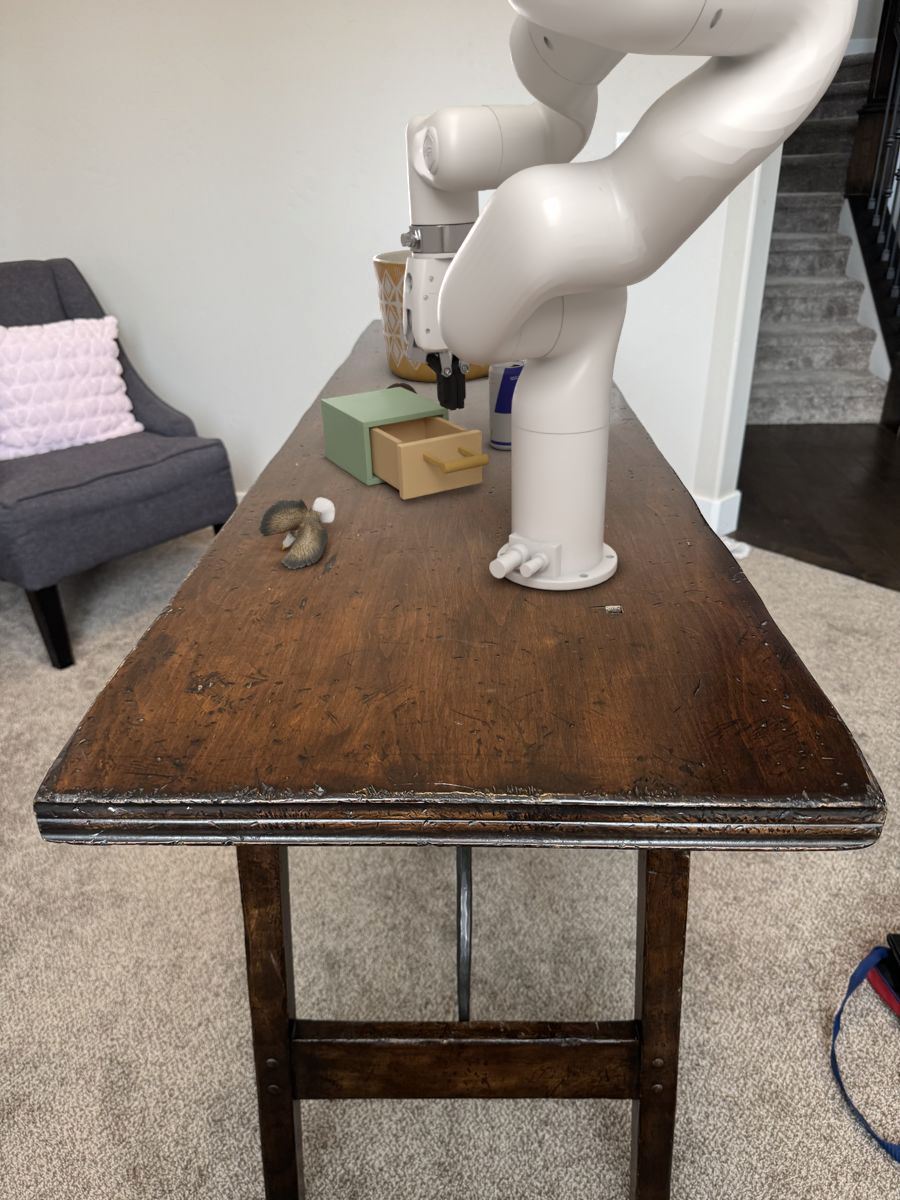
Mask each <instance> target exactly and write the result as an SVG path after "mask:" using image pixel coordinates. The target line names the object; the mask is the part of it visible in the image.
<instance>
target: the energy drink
mask: <svg viewBox="0 0 900 1200" xmlns="http://www.w3.org/2000/svg"><path fill="white" fill-rule="evenodd" d="M525 363H526V362H524V361H523V360H519V361H513V362H507V363H501V364H494V365H490V368H489V375H488V411H489V412H488V415H489V416H488V417H489V421H488V425H489V445H490V447H492V448H494V449H496V450H502V451H511V422H512V421H511V410H512V399H513V393H514V390H515V386H516V383H517V381H518V378H519V376H520V373H521V371H522V369H523V367H524V365H525Z"/></svg>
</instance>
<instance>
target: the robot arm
mask: <svg viewBox="0 0 900 1200" xmlns="http://www.w3.org/2000/svg"><path fill="white" fill-rule="evenodd" d="M507 1H508V3H509V5H510V6H511V7H512V8H513V10H514V11H515V12H516V13H517V16H516V17H515V19H514V21H513V23H512V26H511V30H510V34H509V40H508V50H509V51H508V52H509V56H510V57H509V58H510V61H511V66H512V67H513V68H512V69H513V70H514V72H515V75H516V76H517V78H518V80H519V81H520V83H521V84H522V86H523V87H524V88H525V89H526V91H527V92H528V93H529V94H530V95H531V96H532V97H533V98H534V99H535V100H536V101H534V102H532V103H531V104H530V103H529V104H482V105H481V104H480V105H454V106H446V107H443V108H440V109H438V110H436V111H435V112H433V113H424V114H418V115H415V116H413V117H411V118H410V119H409V120H408V122H407V123H406V127H405V152H406V153H405V155H406V172H407V188H408V189H407V190H408V207H409V209H408V210H409V222H410V223H409V224H410V225H408V231H407V232H405V233H403V232H402V233H401V234H400V238H399V239H400V244H401V246H402V247H403V248H406V247H407V248H409V250H410V251H412V256H411V257H407V263H406V269H405V278H404V290H403V327H404V337H405V342H406V344H407V345H408V348H407V354H406V358H407V359H408V360H409V361H412V362H417V363H424V364H426V365H428V366H429V367H430V368H431V369H432V371H433V372H434V373H436V378H437V382H436V397H437V401H438V403H439V404H440V406H441V407H444V408H446V409H448V411H451V412H452V411H456V410H457V409H458V410H462V409H465V400H466V397H467V387H466V380H465V374H467V373H468V372H469V369H470V365H471V364H474V365H494V364H501V363H507V362H513V361H525V360H526V361H525V362H524V363H525V365H524V367H523V369H522V371H521V373H520V376H519V378H518V381H517V383H516V386H515V390H514V393H513V399H512V410H511V421H512V422H511V450H510V451H511V454H510V455H511V459H510V460H511V462H510V463H511V534H509V535H508V542H507V543H505V544H504V545H503V546H502V547H500V548H499V549H498V552H496V558H495V559H493V560H491V561H490V563H489V564H488V565H489V566H488V567H489V571H490V573H491V575H492V576H493V577H494V578H497V579H503V578H506V579H507V580H509V581H511V582H513V583H516V584H518V585H520V586H524V587H528V588H532V589H536V590H537V589H538V590H543V591H545V590H546V591H572V590H580V589H586V588H591V587H593V586H596V585H599V584H601V583H603V582H605V581H607V580H608V579H610V578H611V577H612V576H614V574H615V573H616V572H617V568H618V554H617V553H616V551H615V550H614V549H613V548H612V547H611V546H609V544H608V543H605V542H604V539H605V538H604V537H605V518H606V517H605V515H606V497H607V476H608V460H609V459H608V458H609V435H610V422H611V406H612V405H611V403H612V388H613V379H614V369H615V363H616V358H617V352H618V347H619V343H620V339H621V335H622V331H623V327H624V323H625V318H626V313H627V306H628V287H629V286H633V285H636V284H639V283H641V282H643V281H645V280H647V279H648V278H650V277H651V276H652V275H653V274H655V273H656V272H657V271H658V270H660V268H661V267H662V266H663V265H664V264H665V263H666V262H667V261H668V260H669V259H670V258H671V257H672V256H673V255H674V254H675V253H676V252H677V251H678V250H679V249H680V248H681V247H682V245H684V244H685V242H686V241H688V239H690V238H691V236H692V235H693V234H694V233H695V232H696V231H697V230H698V229H699V228H700V227H701V226H702V225H703V224H704V223H705V222H706V221H707V219H709V218H710V217H711V215H713V213H715V211H716V210H717V209H718V208H719V207H720V206H721V204H722V203H723V202H724V201H725V199H727V197H729V195H730V194H731V193H732V192H733V191H734V190H735V189H736V188H737V187H738V186H739V185H741V183H742V182H743V181H745V179H746V178H748V176H749V175H751V173H753V172H754V171H755V170H756V169H757V168H758V167H759V166H760V165H761V164H762V163H763V162H764V161H766V159H767V158H768V157H770V156H771V155H772V154H773V153H774V152H775V151H777V149H778V148H779V147H780V146H781V145H782V144H783V143H784V142H785V141H786V140H787V139H788V138H789V137H791V135H792V134H793V133H794V132H795V131H796V130H797V129H798V128H799V127H800V126H801V125H802V123H804V121H805V120H806V119H807V118H808V117H809V115H810V114H811V113H812V111H813V110H814V109H815V107H816V106H817V105H818V103H819V102H820V100H821V99H822V98H823V96H824V95H825V93H826V92H827V90H828V88H829V87H830V85H831V84H832V82H833V80H834V78H835V76H836V74H837V71H838V70H839V68H840V66H841V63H842V61H843V58H844V56H845V54H846V51H847V48H848V45H849V44H850V39H851V36H852V33H853V30H854V26H855V21H856V17H857V12H858V8H859V7H858V6H859V0H507ZM628 54H634V55H644V56H677V57H679V56H681V57H682V56H683V57H709V58H708V59H707V60H706V61H705V62H704V63H703V64H702V65H700V66H699V67H698V68H697V69H695V70H694V71H692V72H691V73H689V74H688V75H687V76H685V77H684V78H682V79H681V80H679V81H678V82H677V83H675V84H674V85H672V86H671V87H670V88H669V89H667V90H666V91H665V92H664V93H663V94H661V95H660V96H659V97H658V98H657V99H656V100H654V102H653V103H652V104H651V105H650V106H648V108H647V109H646V111H645V112H644V113H643V114H642V115H641V117H640V118H639V120H638V121H637V122H636V124H635V126H634V127H633V128H632V130H631V131H630V133H629V134H628V135H627V136H626V138H624V140H623V141H622V142H621V143H620V145H618V147H617V148H615V149H614V150H613V151H612V152H611V153H610V154H608V155H606V156H605V157H602V158H598V159H594V160H589V161H582V162H580V161H579V162H572V161H573V160H574V159H575V158H576V157H577V156H578V155H579V154H581V152H582V151H583V149H584V148H585V147H586V145H587V144H588V141H589V139H590V137H591V135H592V132H593V128H594V125H595V121H596V117H597V114H598V113H597V112H598V107H599V106H598V105H599V90H598V88H599V87H598V86H599V85H601V83H602V82H603V81H604V80H605V79H606V78H607V77H608V75H610V73H611V72H612V71H613V70H614V69H615V68H616V67H617V65H619V63H620V62H621V61H622V60H623V59H624V58H625V57H626V56H627V55H628ZM490 190H492V191H493V190H495V191H493V193H492V194H491V196H490V198H489V199H488V201H487V202H486V203H485V205H484V207H483V209H482V210H481V212H480V201H479V200H480V199H479V192H485V191H490ZM423 350H424V351H427V352H423ZM449 351H450V357H449Z"/></svg>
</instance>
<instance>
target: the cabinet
mask: <svg viewBox="0 0 900 1200" xmlns="http://www.w3.org/2000/svg"><path fill="white" fill-rule="evenodd" d="M416 393H417V392H416ZM416 393H413V392H411V391H409V390H407V389H404V388H402V387H396V388H389V389H387V388H384V389H378V390H371V391H365V392H360V393H352V394H347V395H340V396H335V397H328V398H322V399H320V405H321V417H322V426H323V435H324V436H323V437H324V446H325V456H326V457H325V458H326V459H327V460H328V461H330V462H332V463H334V464H335V465H336V466H338V467H339V468H341V469H342V470H344V471H345V472H346V473H348V474H350V475H352V476H353V477H354V478H356V479H357V480H359V481H360V482H362V483H363V484H365V485H366V486H369V487H370V486H373V485H379V484H382V483H387V482H386V481H384V480H383V479H381V478H380V477H378V476H376V475H375V474H373V473H372V464H371V450H370V437H369V427H375V426H380V425H386V424H391V423H397V422H402V421H408V420H414V419H419V418H425V417H430V416H439V417H441V418H443V419H445V420H447V421H450V417H449V409H446V408H444V407H441V406H440V402H436V401H434V400H431V399H430V398H427V397H425V396H423V395H420V394H418V393H417V394H416Z"/></svg>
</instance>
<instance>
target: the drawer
mask: <svg viewBox="0 0 900 1200" xmlns="http://www.w3.org/2000/svg"><path fill="white" fill-rule="evenodd" d="M482 436H483V435H482V431H481V430H479V429H472V430H468V429H467V428H466V427H463V426H461V425H458V424H456V423H454V422H452V421H450V420H449V421H447V420H445V419H443V418H441V417H439V416H430V417H425V418H419V419H414V420H408V421H402V422H397V423H391V424H386V425H380V426H375V427H369V437H370V450H371V464H372V473H373V474H375V475H376V476H378V477H380V478H381V479H383V480H384V481H386V482H385V483H387V484H389V485H391V486H392V487H394V488H395V489H396V490H398V491H399V498H400V499H402V500H404V501H405V500H409V499H414V498H418V497H423V496H428V495H432V494H437V493H441V492H445V491H450V490H455V489H459V488H463V487H467V486H472V485H477V484H481V483H483V467H485V466H488V465H489V464H490V458H489V455H488V454H487V453H483V445H482V444H483V443H482V441H483V440H482V439H483V438H482Z"/></svg>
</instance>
